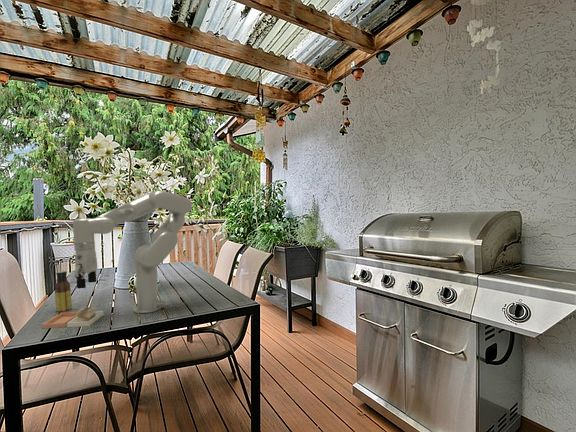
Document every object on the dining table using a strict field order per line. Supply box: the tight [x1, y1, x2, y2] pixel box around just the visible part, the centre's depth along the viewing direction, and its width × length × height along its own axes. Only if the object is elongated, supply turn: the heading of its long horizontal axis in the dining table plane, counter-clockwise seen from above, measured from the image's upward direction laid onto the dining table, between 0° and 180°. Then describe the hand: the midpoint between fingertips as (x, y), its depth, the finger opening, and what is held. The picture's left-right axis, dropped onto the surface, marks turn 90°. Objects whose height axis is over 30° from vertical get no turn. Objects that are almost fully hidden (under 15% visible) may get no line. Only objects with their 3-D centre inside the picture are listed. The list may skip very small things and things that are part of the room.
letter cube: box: [76, 306, 96, 322], centre depth 139 cm, size 5×5×5 cm
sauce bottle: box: [54, 270, 73, 313], centre depth 152 cm, size 7×6×20 cm
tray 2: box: [66, 310, 105, 328], centre depth 139 cm, size 8×14×2 cm, turn 8°
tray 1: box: [41, 311, 77, 329], centre depth 138 cm, size 8×14×2 cm, turn 8°
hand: (87, 285), depth 139 cm, fingers open, 9 cm apart
